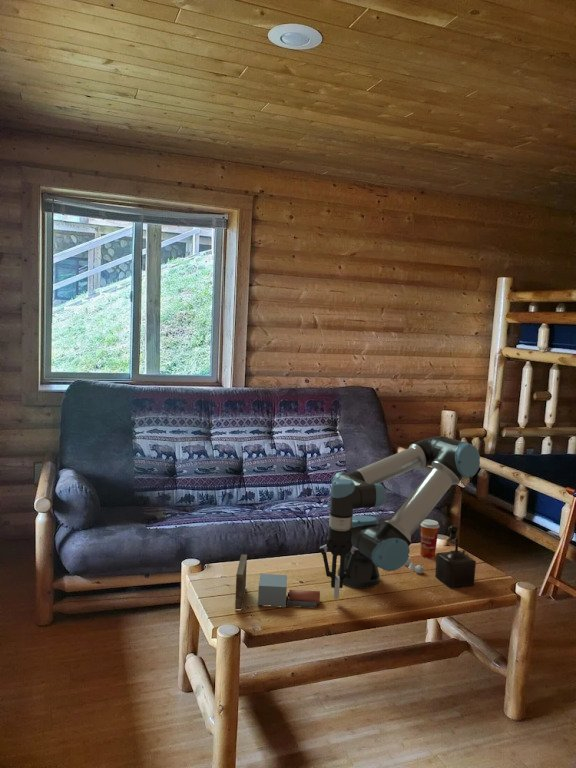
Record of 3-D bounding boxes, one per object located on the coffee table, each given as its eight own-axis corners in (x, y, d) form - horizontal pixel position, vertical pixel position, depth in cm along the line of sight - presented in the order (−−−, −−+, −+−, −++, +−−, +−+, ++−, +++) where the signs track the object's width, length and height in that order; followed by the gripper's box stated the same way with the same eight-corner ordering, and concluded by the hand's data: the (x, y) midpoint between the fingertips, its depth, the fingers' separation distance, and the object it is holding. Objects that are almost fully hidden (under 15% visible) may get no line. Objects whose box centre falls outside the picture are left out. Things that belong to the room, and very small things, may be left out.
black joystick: (476, 586, 213) (480, 538, 211) (450, 589, 209) (454, 540, 208) (451, 568, 228) (455, 523, 226) (426, 571, 224) (430, 525, 222)
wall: (245, 588, 202) (247, 554, 201) (241, 610, 186) (242, 574, 185) (239, 588, 202) (241, 554, 201) (234, 610, 186) (236, 574, 185)
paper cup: (414, 555, 239) (416, 521, 238) (423, 550, 245) (425, 517, 243) (432, 560, 234) (434, 526, 233) (440, 555, 240) (443, 522, 238)
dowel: (318, 601, 196) (319, 589, 196) (319, 605, 192) (320, 593, 192) (288, 599, 196) (289, 587, 196) (288, 604, 192) (289, 592, 192)
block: (286, 594, 199) (287, 575, 198) (285, 607, 190) (286, 587, 189) (259, 593, 199) (260, 573, 198) (257, 605, 190) (258, 585, 189)
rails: (315, 598, 197) (316, 593, 197) (316, 607, 191) (316, 603, 191) (287, 596, 198) (287, 592, 197) (287, 606, 191) (287, 601, 191)
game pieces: (398, 564, 231) (399, 556, 230) (405, 562, 232) (406, 554, 232) (417, 576, 220) (418, 567, 219) (425, 574, 221) (425, 566, 221)
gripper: (320, 530, 188) (316, 601, 190) (361, 532, 188) (357, 603, 190) (319, 522, 195) (315, 590, 198) (359, 524, 195) (354, 592, 197)
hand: (336, 596), depth 194 cm, fingers closed
